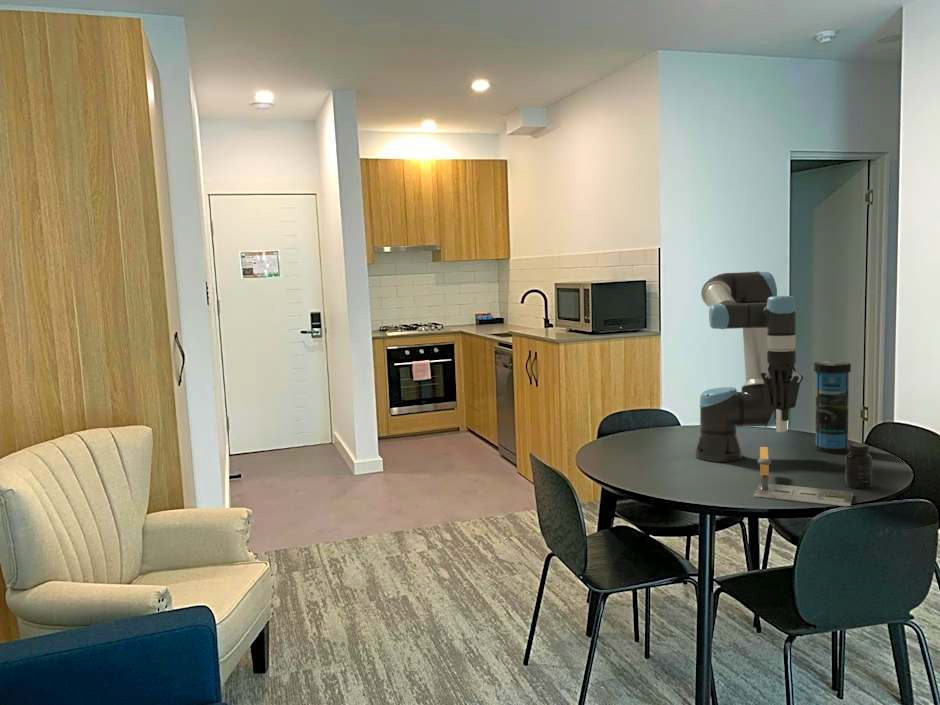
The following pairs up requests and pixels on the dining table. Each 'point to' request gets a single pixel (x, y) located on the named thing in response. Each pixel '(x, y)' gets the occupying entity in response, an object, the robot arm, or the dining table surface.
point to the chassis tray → (802, 493)
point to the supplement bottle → (858, 467)
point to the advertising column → (832, 406)
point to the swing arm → (764, 461)
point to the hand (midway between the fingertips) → (781, 431)
